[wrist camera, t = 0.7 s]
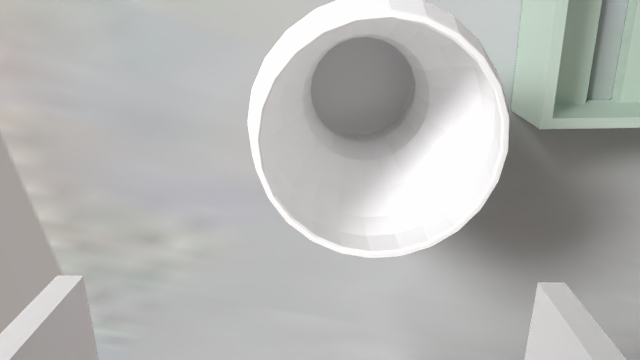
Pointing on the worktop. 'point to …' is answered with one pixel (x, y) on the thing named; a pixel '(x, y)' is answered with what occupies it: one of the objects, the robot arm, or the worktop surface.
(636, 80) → the dish rack
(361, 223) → the cup
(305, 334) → the worktop surface
